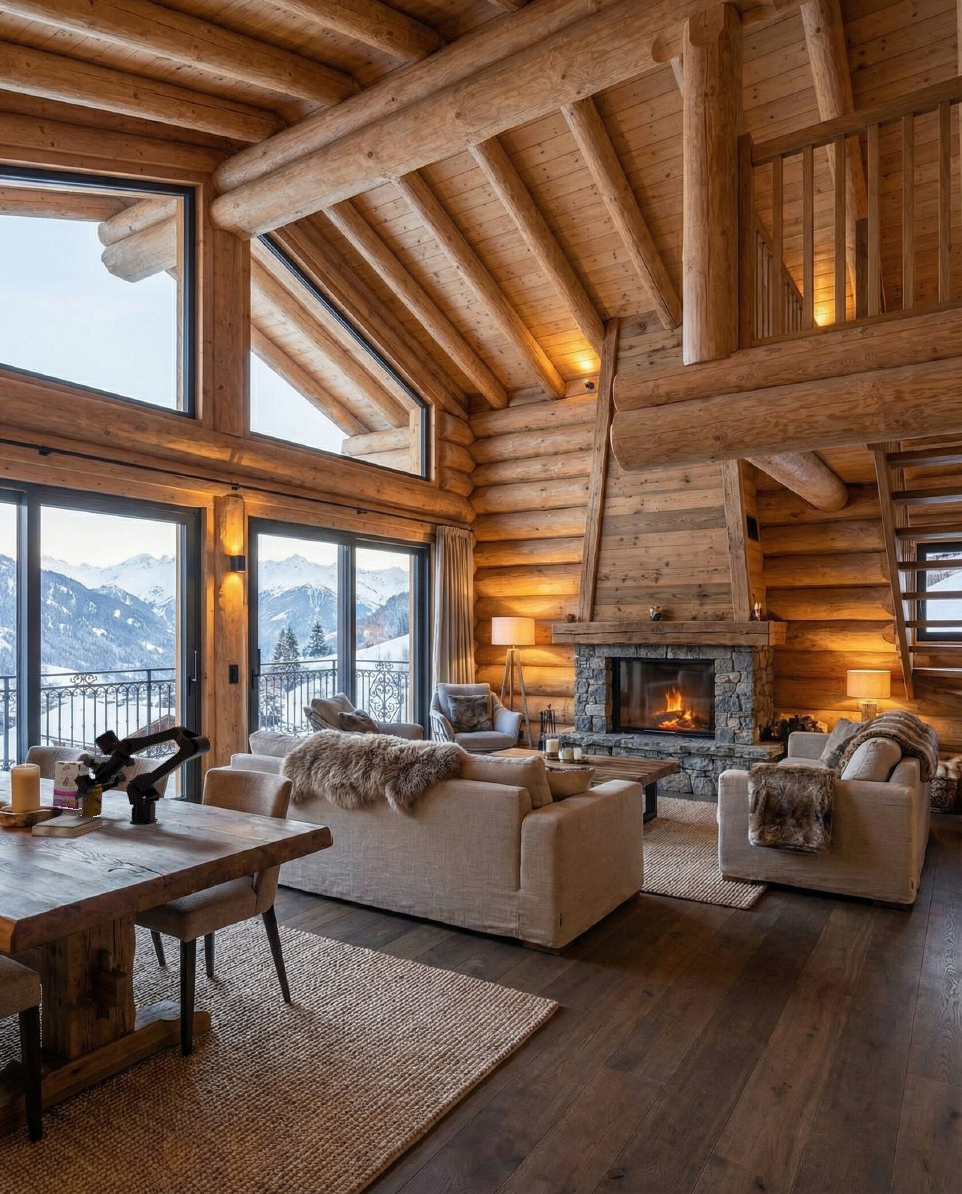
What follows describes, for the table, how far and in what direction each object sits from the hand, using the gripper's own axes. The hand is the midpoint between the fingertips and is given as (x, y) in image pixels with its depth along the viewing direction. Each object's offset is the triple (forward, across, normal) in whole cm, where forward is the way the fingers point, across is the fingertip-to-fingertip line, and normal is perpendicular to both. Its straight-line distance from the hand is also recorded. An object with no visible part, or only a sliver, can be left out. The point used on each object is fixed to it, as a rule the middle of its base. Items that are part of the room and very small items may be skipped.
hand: (86, 796), depth 275 cm
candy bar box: (+15, -8, -5) cm, 17 cm away
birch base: (-2, +18, +12) cm, 22 cm away
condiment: (+4, 0, +6) cm, 7 cm away
